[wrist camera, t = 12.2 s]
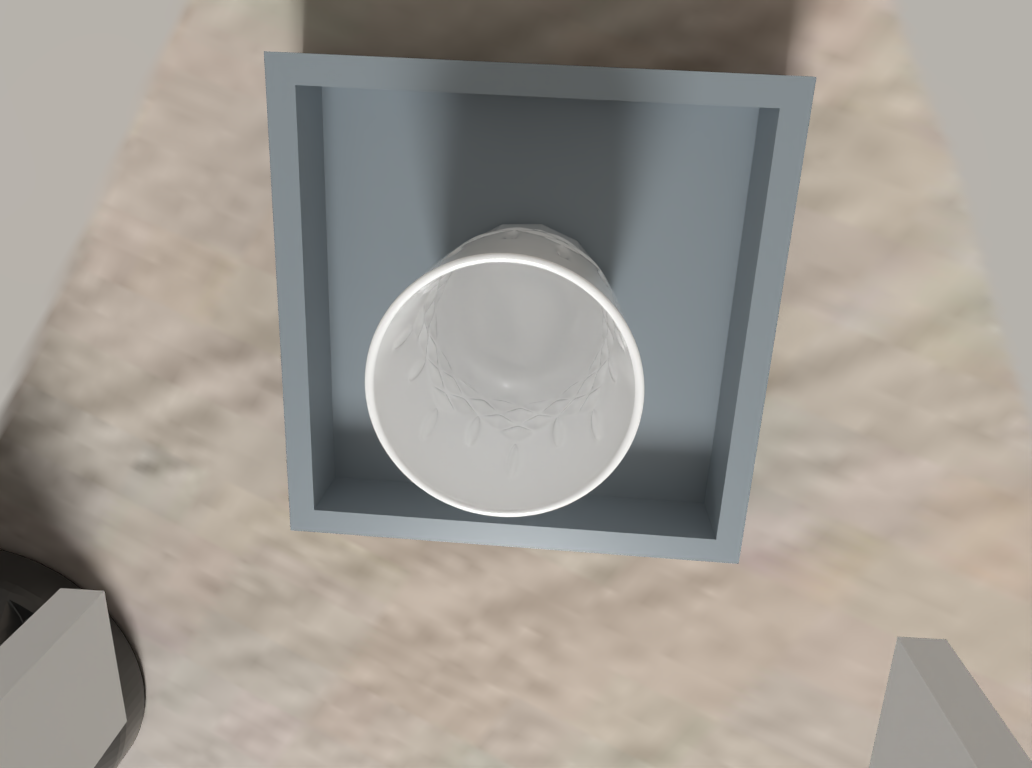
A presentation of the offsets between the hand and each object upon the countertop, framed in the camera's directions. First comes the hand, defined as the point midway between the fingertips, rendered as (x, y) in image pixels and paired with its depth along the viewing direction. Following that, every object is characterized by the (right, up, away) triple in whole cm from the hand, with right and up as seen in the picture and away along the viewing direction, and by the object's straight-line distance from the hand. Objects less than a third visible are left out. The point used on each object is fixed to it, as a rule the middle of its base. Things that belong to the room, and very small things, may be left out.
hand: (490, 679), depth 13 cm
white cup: (+1, +8, +19) cm, 20 cm away
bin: (+1, +8, +19) cm, 21 cm away
